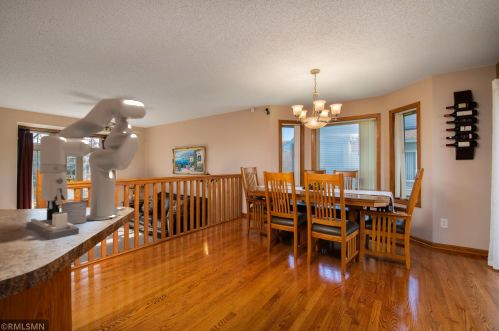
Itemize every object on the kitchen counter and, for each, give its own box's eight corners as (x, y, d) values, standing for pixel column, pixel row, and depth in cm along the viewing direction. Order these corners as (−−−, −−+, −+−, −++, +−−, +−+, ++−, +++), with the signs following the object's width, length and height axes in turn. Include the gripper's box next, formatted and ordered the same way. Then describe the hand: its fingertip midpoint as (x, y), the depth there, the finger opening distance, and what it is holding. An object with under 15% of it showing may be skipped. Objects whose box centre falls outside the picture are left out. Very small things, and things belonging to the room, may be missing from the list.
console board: (52, 223, 93) (53, 215, 93) (78, 233, 81) (79, 224, 81) (26, 227, 87) (26, 218, 87) (50, 239, 74) (50, 229, 74)
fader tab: (63, 226, 82) (63, 210, 82) (67, 227, 80) (67, 211, 80) (52, 228, 79) (52, 212, 79) (55, 229, 77) (56, 213, 78)
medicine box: (84, 220, 99) (84, 201, 99) (86, 222, 96) (86, 202, 96) (60, 223, 93) (61, 202, 93) (62, 226, 90) (62, 204, 90)
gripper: (75, 170, 83) (74, 220, 83) (57, 169, 91) (57, 214, 91) (49, 170, 77) (48, 224, 77) (32, 169, 84) (32, 218, 84)
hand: (53, 219), depth 84 cm, fingers closed
